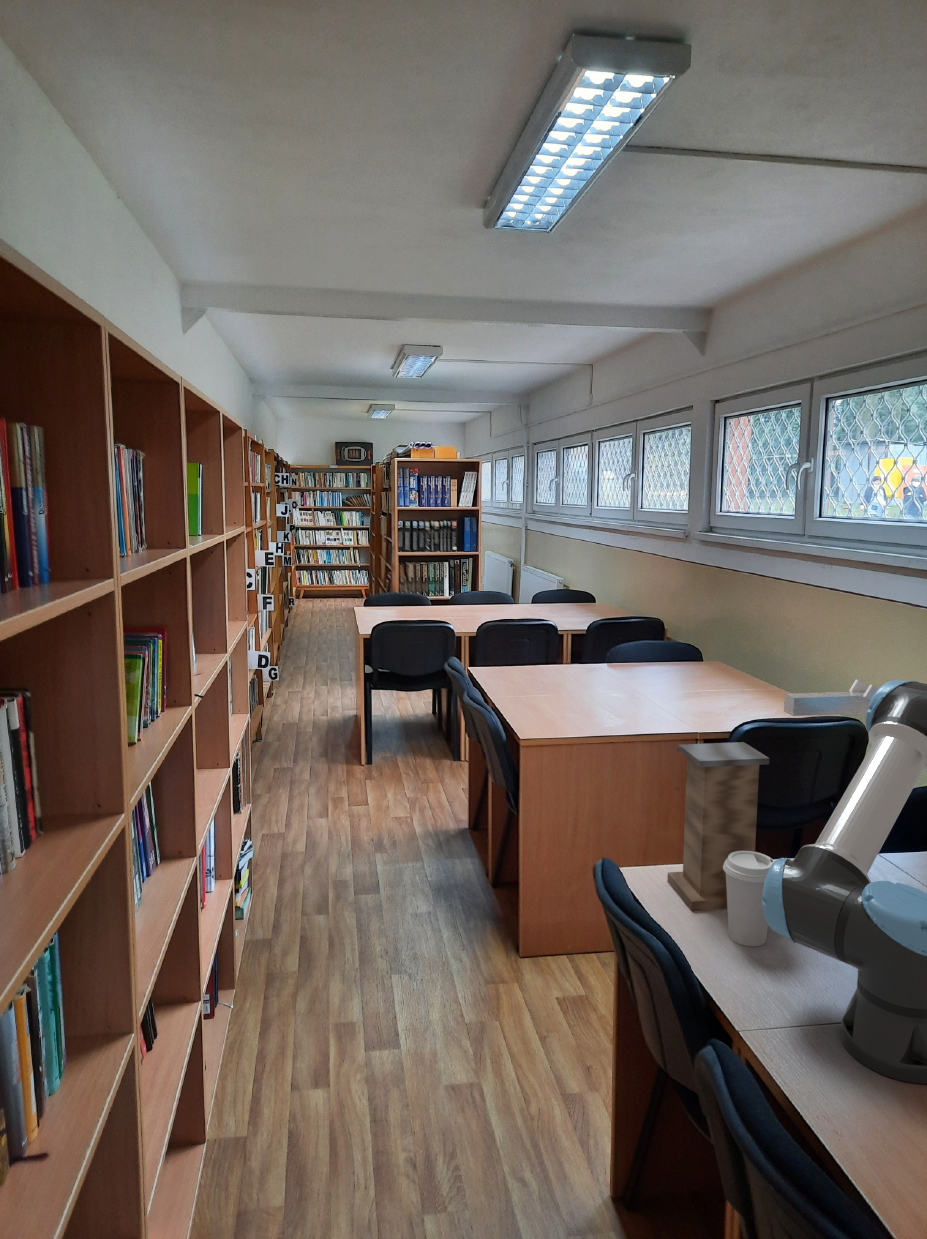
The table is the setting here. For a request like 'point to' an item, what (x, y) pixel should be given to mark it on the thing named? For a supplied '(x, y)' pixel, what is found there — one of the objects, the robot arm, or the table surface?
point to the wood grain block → (826, 703)
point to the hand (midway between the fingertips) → (860, 688)
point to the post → (716, 818)
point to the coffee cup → (746, 896)
